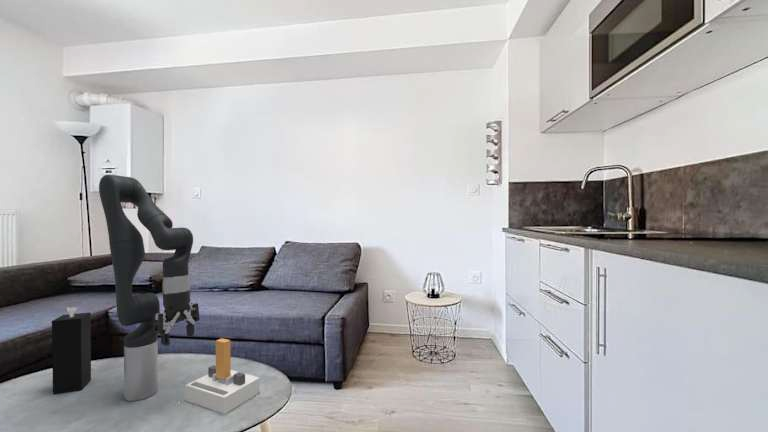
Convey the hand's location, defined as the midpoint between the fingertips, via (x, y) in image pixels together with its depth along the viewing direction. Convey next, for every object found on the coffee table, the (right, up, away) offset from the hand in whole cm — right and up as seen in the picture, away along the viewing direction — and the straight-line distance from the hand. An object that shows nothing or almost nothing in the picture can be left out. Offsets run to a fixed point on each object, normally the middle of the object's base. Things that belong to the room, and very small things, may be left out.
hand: (178, 340), depth 110 cm
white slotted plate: (+13, -20, +3) cm, 24 cm away
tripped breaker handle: (+13, -13, +3) cm, 19 cm away
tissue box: (-43, -20, +10) cm, 48 cm away
